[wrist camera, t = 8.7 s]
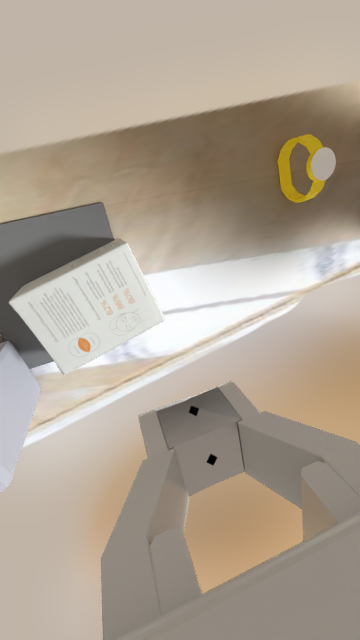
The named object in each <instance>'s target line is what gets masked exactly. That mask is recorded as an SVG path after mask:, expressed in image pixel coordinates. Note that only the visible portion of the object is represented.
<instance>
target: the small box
mask: <svg viewBox="0 0 360 640" xmlns="http://www.w3.org/2000/svg"><path fill="white" fill-rule="evenodd" d="M9 304H10V305H11V306H12V308H13V309H14V310H15V311H16V312H17V313H18V314H19V315H20V317H21V318H22V319H23V320H24V322H25V323H26V324H27V326H28V327H29V328H30V330H31V331H32V332H33V333H34V335H35V336H36V337H37V339H38V340H39V341H40V343H41V344H42V345H43V347H44V348H45V349H46V351H47V352H48V353H49V355H50V356H51V357H52V359H53V360H54V361H55V363H56V364H57V366H58V368H59V369H60V371H61V372H62V373H63V374H64V375H66V374H68V373H70V372H71V371H73V370H75V369H77V368H79V367H81V366H82V365H84V364H86V363H88V362H90V361H92V360H93V359H95V358H97V357H99V356H101V355H103V354H104V353H106V352H108V351H110V350H112V349H114V348H115V347H117V346H119V345H121V344H123V343H125V342H127V341H128V340H130V339H132V338H134V337H136V336H137V335H139V334H141V333H143V332H145V331H147V330H148V329H150V328H152V327H154V326H156V325H158V324H159V323H161V322H163V321H164V320H165V317H164V315H163V313H162V311H161V309H160V307H159V305H158V303H157V301H156V299H155V297H154V295H153V293H152V291H151V289H150V287H149V285H148V283H147V281H146V279H145V277H144V275H143V273H142V271H141V269H140V267H139V265H138V263H137V261H136V259H135V257H134V255H133V253H132V251H131V249H130V247H129V245H128V243H126V242H124V241H123V240H121V239H116V240H114V241H112V242H110V243H108V244H106V245H104V246H102V247H100V248H98V249H96V250H94V251H92V252H90V253H88V254H86V255H84V256H82V257H80V258H78V259H76V260H74V261H72V262H70V263H68V264H66V265H64V266H62V267H60V268H58V269H56V270H54V271H52V272H50V273H47V274H45V275H43V276H41V277H39V278H37V279H35V280H33V281H31V282H29V283H27V284H26V285H24V286H22V287H21V289H20V290H19V291H18V292H17V293H16V294H15V295H14V296H13V297H12V298H11V299H10V301H9Z"/></svg>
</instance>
